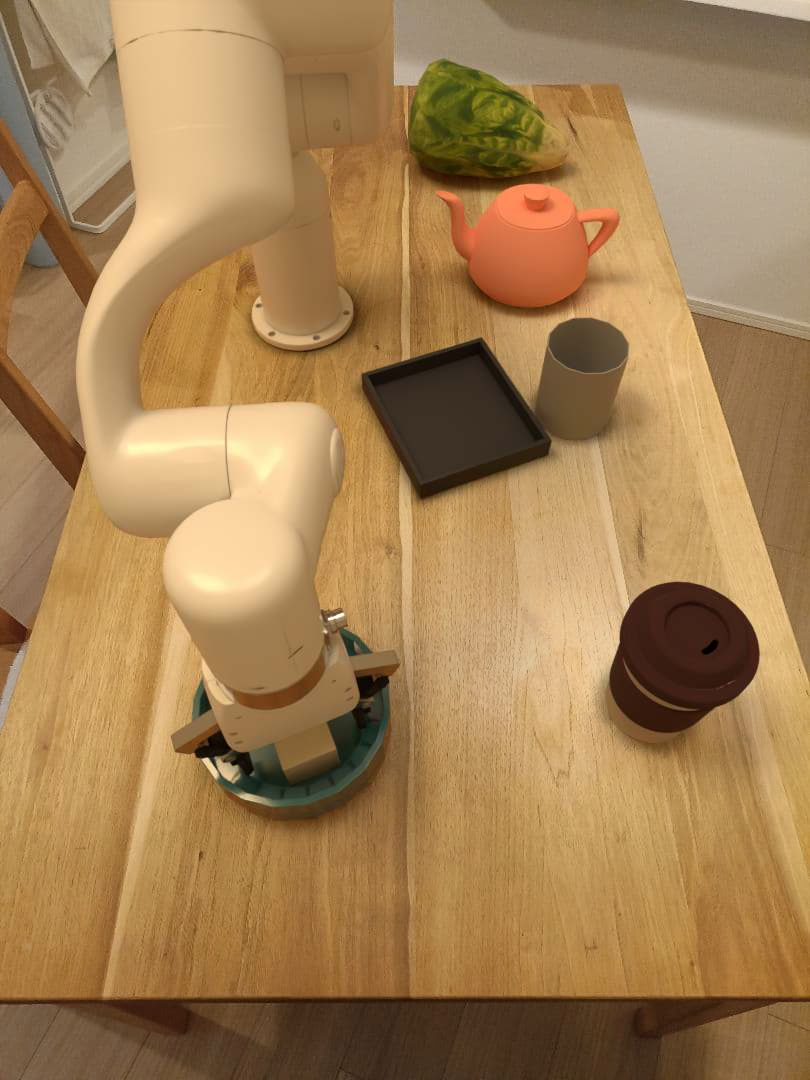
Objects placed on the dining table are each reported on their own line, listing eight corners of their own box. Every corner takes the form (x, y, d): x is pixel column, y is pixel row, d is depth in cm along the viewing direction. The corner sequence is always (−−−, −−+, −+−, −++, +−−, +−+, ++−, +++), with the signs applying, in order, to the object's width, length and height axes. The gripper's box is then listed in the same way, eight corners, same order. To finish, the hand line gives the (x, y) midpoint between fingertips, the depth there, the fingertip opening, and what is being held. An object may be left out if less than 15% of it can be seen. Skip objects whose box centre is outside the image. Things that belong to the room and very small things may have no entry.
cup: (606, 445, 84) (627, 379, 76) (531, 434, 85) (543, 368, 77) (610, 389, 89) (630, 322, 80) (539, 380, 90) (552, 312, 81)
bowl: (186, 679, 70) (171, 656, 66) (353, 617, 73) (349, 592, 69) (234, 854, 62) (221, 840, 57) (420, 775, 65) (420, 757, 61)
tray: (362, 388, 89) (360, 373, 87) (480, 352, 92) (482, 336, 90) (420, 499, 80) (420, 485, 78) (548, 455, 83) (552, 440, 81)
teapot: (430, 314, 96) (432, 227, 86) (436, 239, 104) (438, 151, 94) (608, 320, 95) (631, 233, 85) (599, 244, 103) (620, 156, 93)
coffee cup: (578, 657, 70) (614, 575, 58) (684, 648, 71) (743, 565, 58) (602, 764, 65) (647, 700, 53) (717, 754, 66) (789, 688, 53)
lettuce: (549, 224, 113) (584, 147, 101) (394, 182, 110) (410, 99, 98) (557, 157, 118) (590, 77, 106) (409, 116, 116) (427, 30, 104)
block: (274, 737, 66) (265, 719, 62) (323, 718, 67) (318, 699, 63) (290, 786, 64) (282, 770, 60) (341, 765, 65) (336, 748, 61)
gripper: (374, 556, 52) (382, 658, 67) (121, 646, 49) (188, 732, 63) (417, 650, 49) (416, 736, 63) (146, 754, 45) (211, 820, 60)
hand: (301, 734), depth 63 cm, fingers open, 9 cm apart
